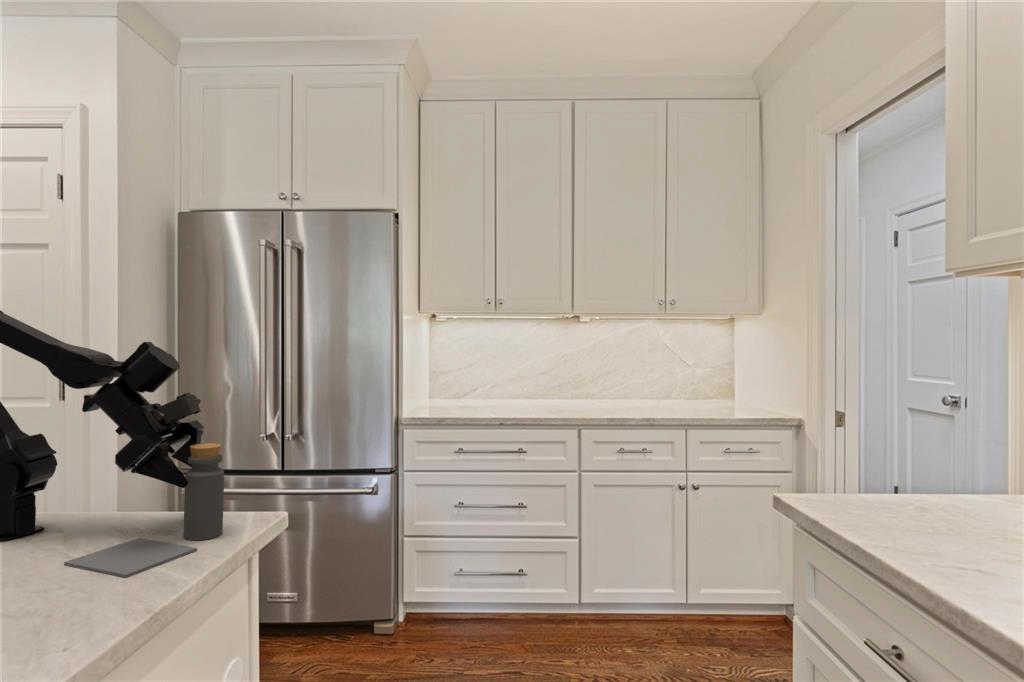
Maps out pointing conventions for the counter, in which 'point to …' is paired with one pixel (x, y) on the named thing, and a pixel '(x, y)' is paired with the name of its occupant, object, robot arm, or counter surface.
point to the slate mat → (130, 557)
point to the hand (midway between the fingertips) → (199, 479)
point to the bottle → (204, 493)
